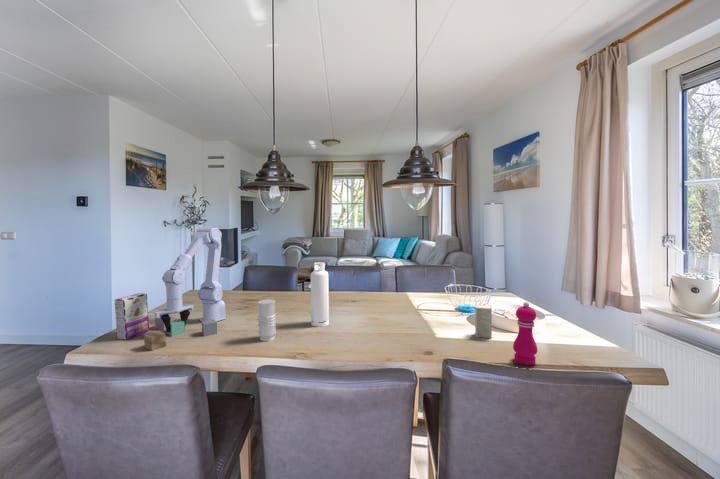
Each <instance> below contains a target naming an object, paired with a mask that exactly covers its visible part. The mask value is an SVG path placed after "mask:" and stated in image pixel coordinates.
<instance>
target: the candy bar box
mask: <svg viewBox="0 0 720 479" xmlns="http://www.w3.org/2000/svg"><path fill="white" fill-rule="evenodd" d="M147 295H148V294H147V293H143V292H142V293H141V292H139V293H134V294H130V295H126V296H123V297H120V298H115V299H114V308H115V309H114V311H115V312H114V313H115V325H116V326H115V327H116V336H117V337H116V339H118V340H123V341H125V340H129V339H132V338H134V337H137V336H139V335H142V334H145V333H147V332H149V331H150V324H149V308H148V307H149V306H148V296H147Z"/></svg>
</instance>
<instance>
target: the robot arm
mask: <svg viewBox="0 0 720 479" xmlns="http://www.w3.org/2000/svg"><path fill="white" fill-rule="evenodd" d="M203 245H205V246H206V247H207V249H208V253H207V259H206V260H207V262H206V271H205V280H204V281H203V283H201V284H200V288H199V291H198V294H197V297H198V299H199V300H200V301H201V303H202V318H200V319H199V321H200V322H202V321H208V320H214V319H215V321H216V322H219V321H224V320H226V319H227V317H226V316H227V315H226V303H225V301H224V300H222V298H223V294H224V292H223V285H222V284H221V282H219V274H220V273H219V272H220V264H221V255H222V231H221V230H220V229H219V228H218V227H198V228H197V229H196V231H195V232H194V233H193V238H192V240H191V242H190V244H189V245H188V247H187V249H186V250H185V252H184V253H183V254H179V255H178V256H177V257H176V260H175V261H174V263H173V264H172V265H171V266H170V269H168V270H166V271H165V272H164V273H163V276H162V277H161V279H162V282H163V283H164V286H165V291H166V308H165V309H160V310H159V311H155V312H154V317H155V318H156V317H160V318H161V319H162V321H163V322H164V324H165V327H166V330H165V331H166V333H167V332H168V333H169V332H170V331H171V329H170V320H171V317H169V315H173V314H177V313H179V317H180V320H182V321H184V326H185V327H186V324H187V320H188V318H190V315H191V311H194V310H195V306H194V304H187V305H183V304H184V303H183V285H182V283H183V282H184V281H185V279H186V274H187V271H188V270H189V268H190V266H191V264H192V263H193V257H194V256H195V254H197V252H198V251H199V249H200V248H201V247H202V246H203Z"/></svg>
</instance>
